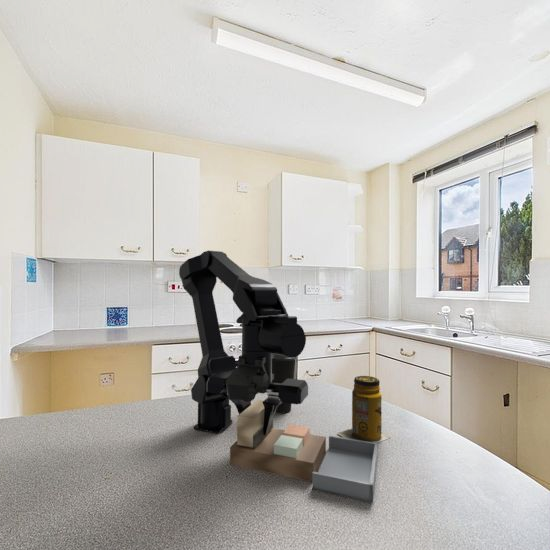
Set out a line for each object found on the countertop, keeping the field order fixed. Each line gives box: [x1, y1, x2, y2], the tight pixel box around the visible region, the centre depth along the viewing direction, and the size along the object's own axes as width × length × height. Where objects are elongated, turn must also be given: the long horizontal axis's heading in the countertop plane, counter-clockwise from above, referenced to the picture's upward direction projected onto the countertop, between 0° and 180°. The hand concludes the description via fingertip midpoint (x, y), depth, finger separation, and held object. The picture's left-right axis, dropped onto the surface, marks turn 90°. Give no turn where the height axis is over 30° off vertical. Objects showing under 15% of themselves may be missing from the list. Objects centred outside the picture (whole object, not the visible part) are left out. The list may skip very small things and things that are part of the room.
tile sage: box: [274, 435, 303, 458], centre depth 57 cm, size 4×4×2 cm
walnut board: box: [229, 427, 327, 483], centre depth 61 cm, size 15×10×3 cm, turn 70°
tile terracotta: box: [283, 423, 311, 445], centre depth 62 cm, size 4×4×2 cm
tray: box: [311, 435, 379, 504], centre depth 56 cm, size 9×14×2 cm, turn 160°
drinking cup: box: [272, 354, 298, 414], centre depth 85 cm, size 8×8×20 cm
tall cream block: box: [236, 399, 274, 448], centre depth 62 cm, size 3×9×5 cm, turn 160°
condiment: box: [336, 375, 391, 444], centre depth 70 cm, size 7×8×12 cm
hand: (256, 432), depth 62 cm, fingers closed on tall cream block, 3 cm apart
